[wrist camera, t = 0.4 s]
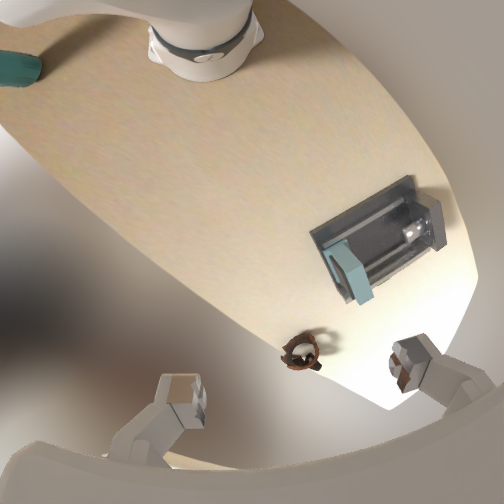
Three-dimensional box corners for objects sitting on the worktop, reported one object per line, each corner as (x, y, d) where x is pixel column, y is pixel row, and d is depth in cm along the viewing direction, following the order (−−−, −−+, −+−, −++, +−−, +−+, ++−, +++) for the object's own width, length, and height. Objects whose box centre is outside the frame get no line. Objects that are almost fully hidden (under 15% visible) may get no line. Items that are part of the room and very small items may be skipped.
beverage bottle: (50, 55, 29) (-17, 39, 11) (42, 87, 32) (-30, 84, 14) (27, 59, 28) (-39, 49, 10) (20, 89, 31) (-49, 91, 13)
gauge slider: (343, 296, 56) (361, 324, 48) (322, 251, 51) (341, 276, 42) (363, 284, 56) (383, 310, 47) (345, 238, 50) (367, 261, 42)
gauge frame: (337, 290, 58) (354, 317, 49) (309, 231, 51) (326, 254, 42) (423, 237, 55) (448, 255, 46) (407, 175, 48) (437, 186, 39)
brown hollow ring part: (268, 353, 64) (276, 363, 56) (289, 321, 66) (300, 327, 58) (305, 374, 66) (317, 385, 57) (325, 344, 67) (340, 351, 59)
